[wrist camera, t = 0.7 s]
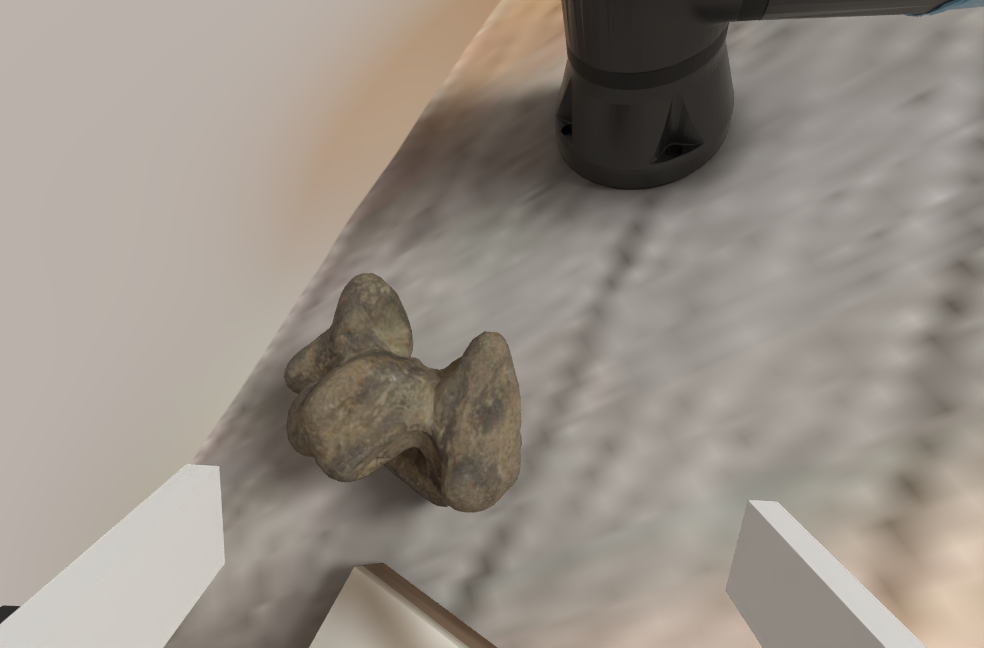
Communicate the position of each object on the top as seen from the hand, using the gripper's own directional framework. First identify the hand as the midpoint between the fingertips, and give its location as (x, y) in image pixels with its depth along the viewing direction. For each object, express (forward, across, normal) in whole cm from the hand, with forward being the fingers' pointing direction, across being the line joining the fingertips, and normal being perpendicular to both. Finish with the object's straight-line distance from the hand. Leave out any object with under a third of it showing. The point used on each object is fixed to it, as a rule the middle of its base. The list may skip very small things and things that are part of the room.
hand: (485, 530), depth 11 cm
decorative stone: (+22, -2, -8) cm, 24 cm away
